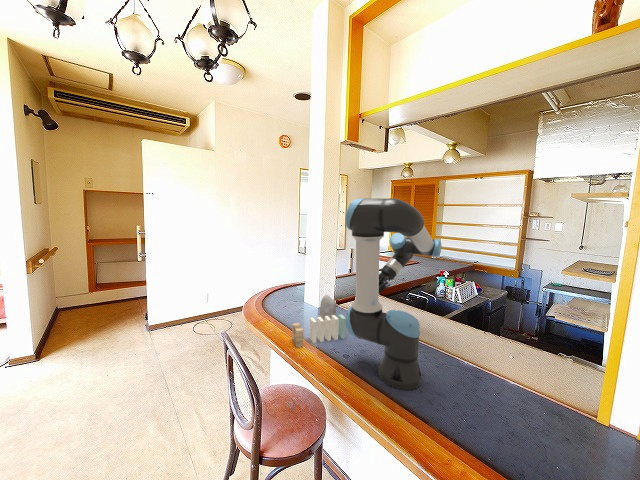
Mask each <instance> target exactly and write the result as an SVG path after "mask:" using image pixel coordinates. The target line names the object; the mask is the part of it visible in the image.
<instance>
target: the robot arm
mask: <svg viewBox="0 0 640 480" xmlns="http://www.w3.org/2000/svg"><path fill="white" fill-rule="evenodd" d="M344 222H345V225H346V228H347V229H348V230H350V231H351V236H352V238H353V239H354V240H355V301H353V302H352V303H351V306H349V308H348V309H347V310H346V311H347V312H346V316H345V318H346V330H347V331H348V333H349V335H351V336H352V337H355V338H357V339H359V340H364V341H366V342H372V343H374V344H377V345H380V346H384V354H383V356H382V358H381V361H380V363H379V366H378V376H379V378H380V380H381V381H382V382H383V383H385V385H387V386H390V387H392V388H394V389H398V390H403V391H404V390H405V391H408V390H410V391H411V390H414V389H417V388H419V387H420V386H421V385H422V381H423V380H422V377H423V376H422V375H423V374H422V371H421V367H420V363H419V360H418V359H419V347H420V346H419V345H420V335H421V332H420V321H419V320H418V319H417V317H416V316H414V315H413V314H410V313H409V312H407V311H403V310H399V309H397V310H396V309H391V310H390V309H389V310H388V311H386V312H383V304H382V303H380V301H379V297H380V296H379V295H380V294H381V293H382V292H383V291H384V290H386V289H387V288H389V287H390V286H391V284H390V281H393V280H394V279H395V278H396V277H397V275H398V274H399V273H400V272H401V271H402V270H403V269H404V268H405V266H406V265H407V264H408V263H409V262H410V261H411V259H413V258H414V256H415V255H417V256H418V255H419V256H427V257H431V258H432V257H439V256H440V255H441V252H442V245H443V244H442V241H441V240H440V239H435V238H434V239H433V238H432V236H431V235H430V233H429V231H428V230H427V228H426V227H425V219H424V216H423V215H422V214H421V212H420V211H419V210H418V209H417V208H416V207H414V206H413V205H411V204H410V203H408V202H406V201H404V200H401V199H398V198H394V197H392V198H390V197H389V198H373V197H371V198H367V197H365V198H356V199H354V200H352V201H351V202H350V204H349V205H348V207H347V209H346V213H345V219H344ZM385 233H393V234H392V235H391V237H390V238H389V244H390V247H391V249H392V251H393V253H394V255H393V256H391V258H390V259H389V260H388V261H387V262H386V263H385V265H383V267H382V268H381V269H380V246H381V245H380V243H381V241H380V240H382V238H384V237H385Z"/></svg>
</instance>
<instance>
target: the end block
mask: <svg viewBox="0 0 640 480" xmlns="http://www.w3.org/2000/svg"><path fill="white" fill-rule="evenodd" d="M291 329H292V330H291V331H292V334H291V335H292V339H291V340H292V341H293V343H294V345H295V347H296V348H301V346H303V347H304V329H303V327H302V326H301V324H300V323H299V322H296V323H292V327H291Z"/></svg>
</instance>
